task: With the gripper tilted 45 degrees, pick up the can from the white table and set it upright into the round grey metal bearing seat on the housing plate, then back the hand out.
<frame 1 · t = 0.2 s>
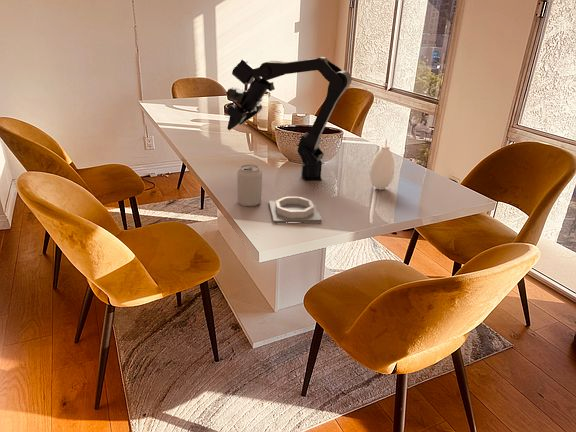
hand: (234, 126, 166), 15 cm above the table, tool tilted 35°, fingers open, 9 cm apart
housing: (294, 212, 135), on the table
sauce bottle: (379, 189, 156), on the table
can: (249, 203, 141), on the table
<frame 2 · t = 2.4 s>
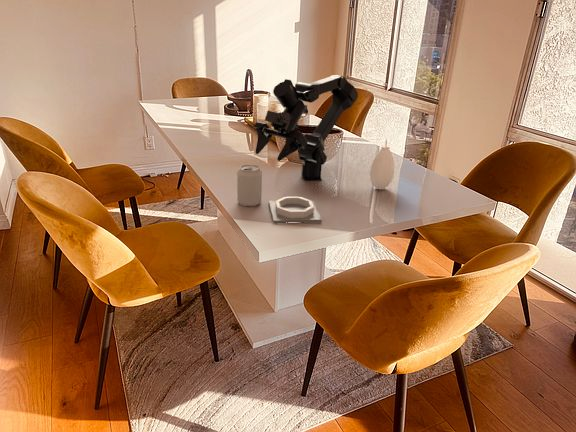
hand: (267, 156, 140), 13 cm above the table, tool tilted 45°, fingers open, 9 cm apart
nothing on the table moved.
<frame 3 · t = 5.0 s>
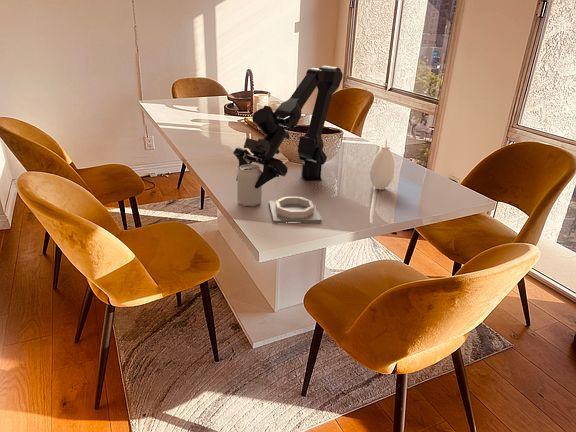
hand: (246, 184, 137), 7 cm above the table, tool tilted 45°, fingers closed on can, 7 cm apart
can: (249, 203, 141), on the table, touching gripper
everything else where it was.
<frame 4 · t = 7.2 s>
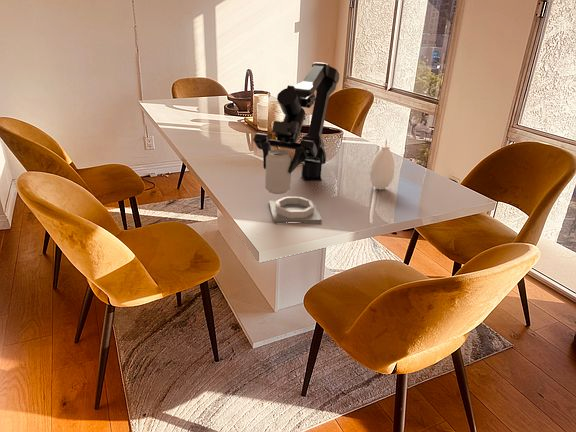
hand: (276, 170, 130), 13 cm above the table, tool tilted 45°, fingers closed on can, 7 cm apart
can: (277, 190, 134), point 6 cm above the table, touching gripper
everything else where it was.
when the fingers open (8 cm above the table, at t = 9.4 s): can stays where it is, resting on housing.
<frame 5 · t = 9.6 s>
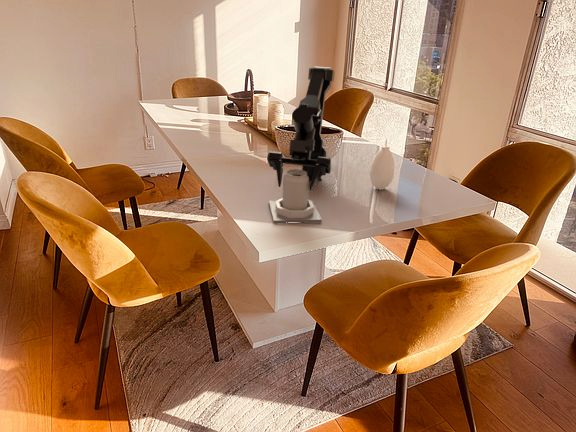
hand: (294, 188, 130), 9 cm above the table, tool tilted 45°, fingers open, 9 cm apart
can: (294, 210, 135), point 1 cm above the table, touching housing
everything else where it was.
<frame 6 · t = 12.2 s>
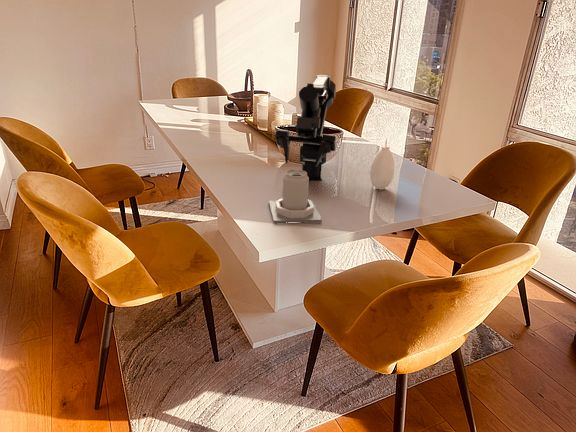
hand: (301, 164, 136), 13 cm above the table, tool tilted 45°, fingers open, 9 cm apart
nothing on the table moved.
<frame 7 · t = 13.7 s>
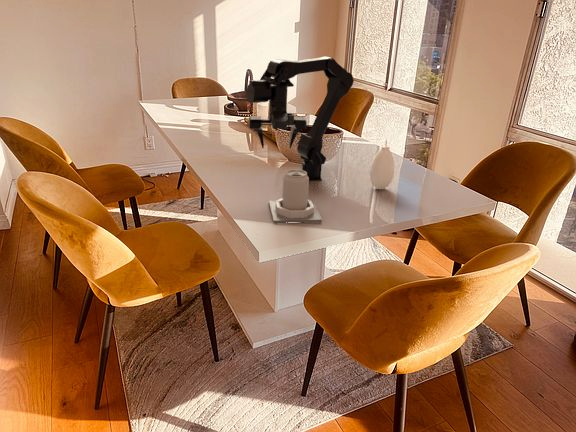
hand: (276, 147, 150), 13 cm above the table, tool pointing down, fingers open, 9 cm apart
nothing on the table moved.
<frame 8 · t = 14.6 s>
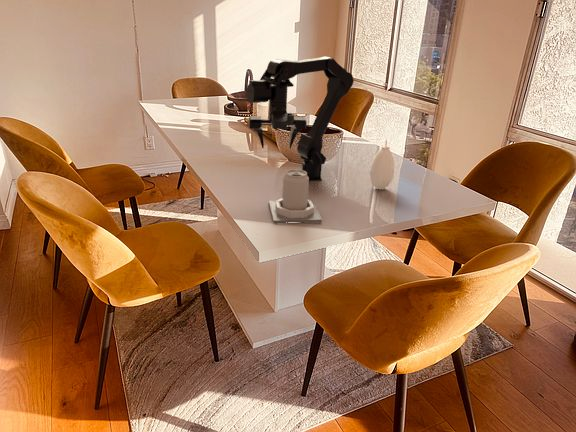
hand: (276, 147, 150), 13 cm above the table, tool pointing down, fingers open, 9 cm apart
nothing on the table moved.
at the end: can 0.2 cm off-centre on the housing, point 0.8 cm above the housing's base; can tilted 0°; the gripper is holding nothing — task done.
